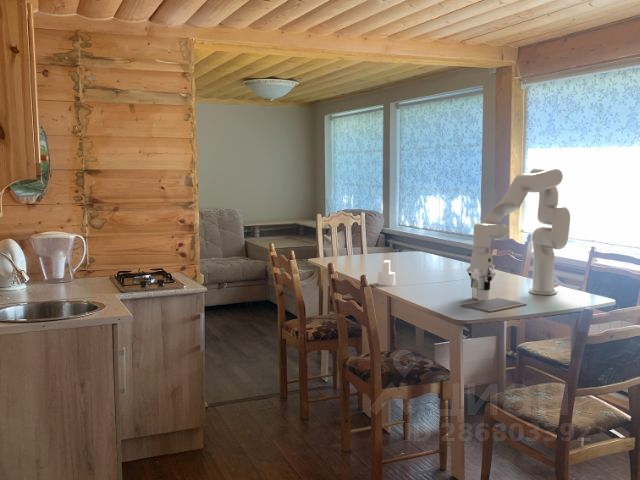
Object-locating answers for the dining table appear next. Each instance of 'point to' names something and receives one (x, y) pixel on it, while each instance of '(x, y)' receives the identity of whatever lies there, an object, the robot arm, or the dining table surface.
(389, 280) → the base with upright slab
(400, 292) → the dining table surface
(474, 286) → the syrup box
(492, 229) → the robot arm
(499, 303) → the mat
